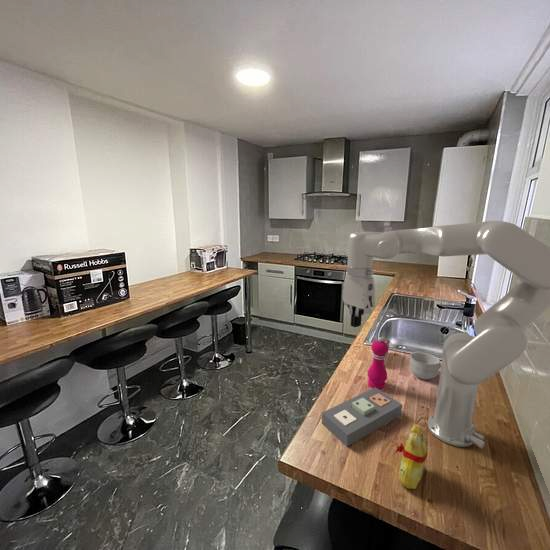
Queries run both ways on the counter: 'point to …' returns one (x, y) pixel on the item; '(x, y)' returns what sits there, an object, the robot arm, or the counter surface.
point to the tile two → (363, 407)
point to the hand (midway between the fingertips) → (355, 325)
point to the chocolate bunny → (412, 458)
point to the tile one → (344, 418)
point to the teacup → (424, 365)
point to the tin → (387, 343)
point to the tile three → (379, 400)
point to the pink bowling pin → (378, 365)
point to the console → (360, 417)
